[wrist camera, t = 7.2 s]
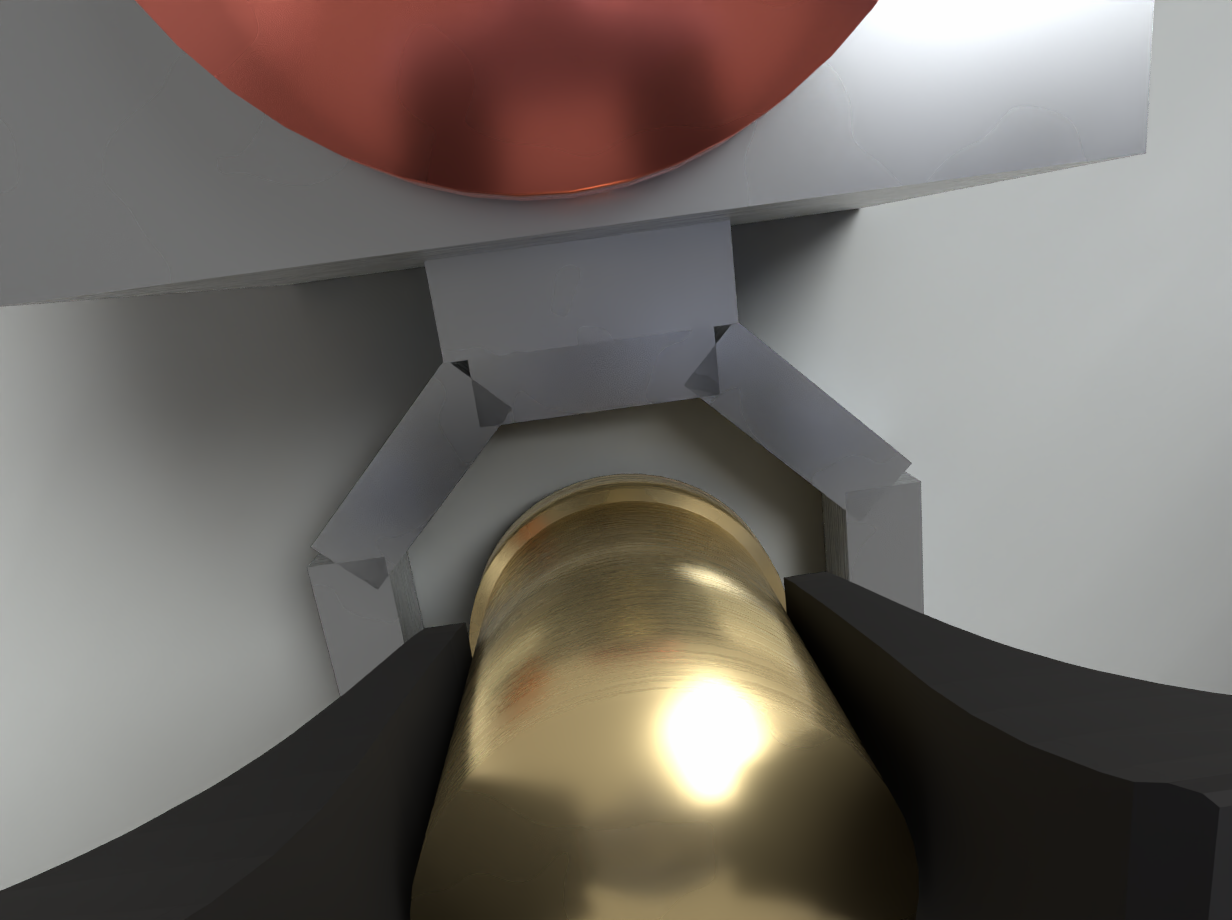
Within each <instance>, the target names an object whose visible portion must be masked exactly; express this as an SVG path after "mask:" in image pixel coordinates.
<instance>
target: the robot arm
mask: <svg viewBox="0 0 1232 920" xmlns="http://www.w3.org/2000/svg"><path fill="white" fill-rule="evenodd" d="M784 587H785V600H786V613H787V615H788V617H789V618H790V620H791V622H792V623H793V625H794V627H795V629H796V630H797V632H798V634H799V636H800V637H801V639H802V641H803V642H804V644H805V646H806V648H807V649H808V651H809V653H810V655H811V656H812V658H813V660H814V661H815V663H816V665H817V667H818V668H819V670H820V672H821V674H822V675H823V677H824V679H825V680H826V682H827V684H828V686H829V687H830V689H831V691H832V693H833V694H834V696H835V698H836V699H837V701H838V703H839V705H840V706H841V708H842V710H843V712H844V713H845V715H846V717H847V718H848V720H849V722H850V724H851V725H852V727H853V729H854V731H855V732H856V734H857V736H858V737H859V739H860V741H861V743H862V744H863V746H864V748H865V750H866V751H867V753H868V755H869V756H870V758H871V760H872V762H873V763H874V765H875V767H876V769H877V770H878V772H879V774H880V775H881V777H882V779H883V781H884V782H885V784H886V786H887V788H888V789H889V791H890V793H891V795H892V796H893V798H894V800H895V802H896V803H897V805H898V807H899V809H900V811H901V812H902V814H903V816H904V818H905V821H906V824H907V826H908V829H909V832H910V835H911V837H912V840H913V843H914V848H915V854H916V859H917V865H918V878H919V898H918V905H917V912H916V920H1232V695H1226V694H1219V693H1212V692H1205V691H1199V690H1193V689H1187V688H1181V687H1176V686H1170V685H1164V684H1158V683H1154V682H1149V681H1144V680H1139V679H1134V678H1130V677H1125V676H1120V675H1115V674H1111V673H1106V672H1101V671H1097V670H1093V669H1089V668H1084V667H1080V666H1076V665H1072V664H1068V663H1065V662H1061V661H1058V660H1054V659H1051V658H1047V657H1044V656H1040V655H1037V654H1033V653H1030V652H1027V651H1023V650H1020V649H1016V648H1013V647H1010V646H1007V645H1004V644H1001V643H998V642H995V641H992V640H989V639H986V638H984V637H981V636H978V635H976V634H973V633H970V632H968V631H965V630H962V629H959V628H957V627H954V626H951V625H949V624H946V623H944V622H941V621H939V620H937V619H934V618H932V617H929V616H927V615H925V614H922V613H920V612H917V611H915V610H913V609H911V608H908V607H906V606H904V605H901V604H899V603H897V602H895V601H893V600H890V599H888V598H886V597H884V596H881V595H879V594H877V593H875V592H873V591H871V590H868V589H866V588H864V587H862V586H860V585H857V584H855V583H853V582H850V581H848V580H846V579H843V578H841V577H839V576H836V575H833V574H830V573H827V572H819V573H812V574H805V575H798V576H791V577H784ZM471 662H472V653H471V648H470V643H469V638H468V633H467V628H466V623H459V624H452V625H445V626H438V627H431V628H425V629H423V630H421V631H420V632H418V633H417V634H415V635H414V636H413V637H411V638H410V639H409V640H408V641H406V642H405V643H404V644H403V645H402V646H400V647H399V648H398V649H397V650H396V651H394V652H393V653H392V654H391V655H390V656H389V657H387V658H386V659H385V660H384V661H383V662H382V663H380V664H379V665H378V666H377V667H376V668H374V669H373V670H372V671H371V672H370V673H369V674H367V675H366V676H365V677H364V678H363V679H361V680H360V681H359V682H358V683H357V684H355V685H354V686H353V687H352V688H351V689H350V690H348V691H347V692H346V693H345V694H343V695H342V696H341V697H340V698H338V699H337V700H336V701H334V702H333V703H332V704H331V705H329V706H328V707H327V708H325V709H324V710H323V711H321V712H320V713H319V714H318V715H316V716H315V717H314V718H312V719H311V720H310V721H309V722H307V723H306V724H305V725H303V726H302V727H301V728H299V729H298V730H297V731H296V732H294V733H293V734H292V735H290V736H289V737H287V738H286V739H285V740H283V741H282V742H280V743H279V744H278V745H276V746H275V747H273V748H272V749H270V750H269V751H267V752H266V753H264V754H263V755H261V756H260V757H258V758H257V759H255V760H254V761H252V762H251V763H249V764H247V765H246V766H244V767H243V768H241V769H240V770H238V771H236V772H235V773H233V774H232V775H230V776H229V777H227V778H225V779H224V780H222V781H221V782H219V783H217V784H216V785H214V786H212V787H211V788H209V789H207V790H205V791H204V792H202V793H200V794H198V795H196V796H194V797H193V798H191V799H189V800H187V801H185V802H183V803H182V804H180V805H178V806H176V807H174V808H172V809H171V810H169V811H167V812H165V813H163V814H162V815H160V816H158V817H156V818H154V819H152V820H151V821H149V822H147V823H145V824H143V825H141V826H140V827H138V828H136V829H134V830H132V831H130V832H128V833H126V834H124V835H122V836H120V837H118V838H116V839H114V840H112V841H110V842H108V843H106V844H104V845H102V846H100V847H97V848H95V849H93V850H91V851H89V852H87V853H85V854H83V855H81V856H79V857H77V858H74V859H72V860H70V861H68V862H65V863H63V864H61V865H59V866H57V867H54V868H52V869H50V870H48V871H45V872H43V873H41V874H39V875H37V876H34V877H32V878H30V879H28V880H25V881H23V882H21V883H18V884H16V885H13V886H11V887H9V888H6V889H4V890H2V891H0V920H410V908H411V896H412V885H413V881H414V877H415V873H416V869H417V865H418V861H419V857H420V854H421V850H422V846H423V842H424V839H425V835H426V831H427V827H428V824H429V820H430V816H431V812H432V808H433V805H434V801H435V797H436V793H437V790H438V786H439V782H440V778H441V775H442V771H443V767H444V763H445V760H446V756H447V752H448V748H449V745H450V741H451V737H452V733H453V730H454V726H455V722H456V718H457V715H458V711H459V707H460V703H461V700H462V696H463V692H464V688H465V685H466V681H467V677H468V673H469V670H470V666H471Z"/></svg>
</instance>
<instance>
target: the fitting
mask: <svg viewBox="0 0 1232 920" xmlns="http://www.w3.org/2000/svg"><path fill="white" fill-rule="evenodd" d="M469 642H470V648H471V653H472V662H471V666H470V670H469V673H468V677H467V681H466V685H465V688H464V692H463V696H462V700H461V703H460V707H459V711H458V715H457V718H456V722H455V726H454V730H453V733H452V737H451V741H450V745H449V748H448V752H447V756H446V760H445V763H444V767H443V771H442V775H441V778H440V782H439V786H438V790H437V793H436V797H435V801H434V805H433V808H432V812H431V816H430V820H429V824H428V827H427V831H426V835H425V839H424V842H423V846H422V850H421V854H420V857H419V861H418V865H417V869H416V873H415V877H414V881H413V885H412V896H411V908H410V920H916V912H917V905H918V898H919V878H918V865H917V859H916V854H915V848H914V843H913V840H912V837H911V835H910V832H909V829H908V826H907V824H906V821H905V818H904V816H903V814H902V812H901V811H900V809H899V807H898V805H897V803H896V802H895V800H894V798H893V796H892V795H891V793H890V791H889V789H888V788H887V786H886V784H885V782H884V781H883V779H882V777H881V775H880V774H879V772H878V770H877V769H876V767H875V765H874V763H873V762H872V760H871V758H870V756H869V755H868V753H867V751H866V750H865V748H864V746H863V744H862V743H861V741H860V739H859V737H858V736H857V734H856V732H855V731H854V729H853V727H852V725H851V724H850V722H849V720H848V718H847V717H846V715H845V713H844V712H843V710H842V708H841V706H840V705H839V703H838V701H837V699H836V698H835V696H834V694H833V693H832V691H831V689H830V687H829V686H828V684H827V682H826V680H825V679H824V677H823V675H822V674H821V672H820V670H819V668H818V667H817V665H816V663H815V661H814V660H813V658H812V656H811V655H810V653H809V651H808V649H807V648H806V646H805V644H804V642H803V641H802V639H801V637H800V636H799V634H798V632H797V630H796V629H795V627H794V625H793V623H792V622H791V620H790V618H789V617H788V615H787V613H786V600H785V591H784V588H783V586H782V583H781V580H780V578H779V575H778V573H777V571H776V569H775V567H774V566H773V564H772V562H771V560H770V558H769V557H768V555H767V553H766V552H765V550H764V549H763V547H762V545H761V544H760V542H759V541H758V539H757V538H756V536H755V535H754V534H753V532H752V531H751V530H750V528H749V527H748V526H747V524H746V523H745V522H744V521H743V520H742V519H741V518H740V517H739V516H738V515H737V514H736V513H735V512H734V511H733V510H731V509H730V508H729V507H727V506H726V505H725V504H723V503H722V502H721V501H719V500H718V499H717V498H715V497H713V496H711V495H710V494H708V493H706V492H704V491H702V490H701V489H699V488H696V487H694V486H691V485H689V484H686V483H684V482H681V481H677V480H673V479H669V478H665V477H661V476H654V475H645V474H616V475H608V476H601V477H596V478H592V479H588V480H585V481H581V482H578V483H575V484H573V485H570V486H568V487H565V488H563V489H560V490H558V491H556V492H555V493H553V494H551V495H549V496H548V497H546V498H544V499H542V500H541V501H539V502H538V503H537V504H535V505H534V506H533V507H531V508H530V509H529V510H527V511H526V512H525V513H524V514H523V515H522V516H521V517H520V518H519V519H518V520H517V521H516V522H514V523H513V524H512V525H511V526H510V528H509V529H508V530H507V532H506V533H505V534H504V535H503V537H502V538H501V539H500V541H499V542H498V544H497V545H496V547H495V549H494V551H493V552H492V554H491V556H490V558H489V560H488V562H487V565H486V567H485V570H484V572H483V575H482V578H481V581H480V584H479V587H478V591H477V594H476V597H475V601H474V606H473V610H472V614H471V621H470V631H469Z"/></svg>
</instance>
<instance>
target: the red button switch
mask: <svg viewBox="0 0 1232 920" xmlns="http://www.w3.org/2000/svg"><path fill="white" fill-rule="evenodd" d="M1153 14H1154V0H0V307H2V306H15V305H28V304H41V303H54V302H68V301H81V300H94V299H107V298H120V297H134V296H147V295H160V294H173V293H186V292H200V291H213V290H226V289H239V288H252V287H265V286H279V285H291V284H298V283H306V282H313V281H320V280H328V279H335V278H343V277H350V276H358V275H365V274H373V273H380V272H388V271H395V270H403V269H410V268H418V267H425V269H426V274H427V279H428V284H429V290H430V295H431V300H432V305H433V311H434V316H435V321H436V326H437V332H438V337H439V342H440V347H441V352H442V358H443V362H442V364H441V365H440V367H439V368H438V369H437V371H436V372H435V374H434V375H433V376H432V378H431V379H430V381H429V382H428V383H427V385H426V386H425V388H424V389H423V390H422V392H421V393H420V395H419V396H418V397H417V399H416V400H415V402H414V403H413V404H412V406H411V407H410V409H409V410H408V411H407V413H406V414H405V416H404V417H403V418H402V420H401V421H400V423H399V424H398V425H397V427H396V428H395V430H394V431H393V432H392V434H391V435H390V437H389V438H388V439H387V441H386V442H385V444H384V445H383V446H382V448H381V449H380V451H379V452H378V453H377V455H376V456H375V458H374V459H373V460H372V462H371V463H370V465H369V466H368V467H367V469H366V470H365V472H364V473H363V474H362V476H361V477H360V479H359V480H358V481H357V483H356V484H355V486H354V487H353V488H352V490H351V491H350V493H349V494H348V495H347V497H346V498H345V500H344V501H343V502H342V504H341V505H340V507H339V508H338V509H337V511H336V512H335V514H334V515H333V516H332V518H331V519H330V521H329V522H328V523H327V525H326V526H325V528H324V529H323V530H322V532H321V533H320V535H319V536H318V537H317V539H316V540H315V542H314V543H313V544H312V546H311V548H313V549H314V550H316V551H318V552H319V555H318V556H317V557H316V558H315V559H314V560H313V561H312V562H311V564H310V565H309V566H308V567H307V570H308V574H309V578H310V581H311V585H312V589H313V593H314V597H315V601H316V605H317V608H318V612H319V616H320V620H321V624H322V628H323V632H324V636H325V639H326V643H327V647H328V651H329V655H330V659H331V663H332V667H333V670H334V674H335V678H336V682H337V686H338V690H339V694H340V697H341V696H342V695H343V694H345V693H346V692H347V691H348V690H350V689H351V688H352V687H353V686H354V685H355V684H357V683H358V682H359V681H360V680H361V679H363V678H364V677H365V676H366V675H367V674H369V673H370V672H371V671H372V670H373V669H374V668H376V667H377V666H378V665H379V664H380V663H382V662H383V661H384V660H385V659H386V658H387V657H389V656H390V655H391V654H392V653H393V652H394V651H396V650H397V649H398V648H399V647H400V646H402V645H403V644H404V643H405V642H406V641H408V640H409V639H410V638H411V637H413V636H414V635H415V634H417V633H418V632H420V631H421V630H423V629H424V627H423V622H422V618H421V613H420V608H419V604H418V599H417V595H416V590H415V586H414V581H413V576H412V572H411V567H410V563H409V558H408V554H407V550H408V549H409V547H410V546H411V544H412V543H413V542H414V540H415V539H416V538H417V536H418V535H419V534H420V532H421V531H422V530H423V528H424V527H425V526H426V524H427V523H428V522H429V520H430V519H431V518H432V516H433V515H434V514H435V512H436V511H437V510H438V508H439V507H440V506H441V504H442V503H443V502H444V500H445V499H446V498H447V496H448V495H449V493H450V492H451V491H452V489H453V488H454V487H455V485H456V484H457V483H458V481H459V480H460V479H461V477H462V476H463V475H464V473H465V472H466V471H467V469H468V468H469V467H470V465H471V464H472V463H473V461H474V460H475V459H476V457H477V456H478V455H479V453H480V452H481V451H482V449H483V448H484V447H485V445H486V444H487V442H488V441H489V440H490V438H491V437H492V436H493V434H494V433H495V432H496V430H497V429H498V428H499V426H500V425H503V424H510V423H517V422H525V421H532V420H539V419H547V418H554V417H561V416H568V415H576V414H583V413H590V412H597V411H605V410H612V409H619V408H627V407H634V406H641V405H648V404H656V403H663V402H670V401H677V400H685V399H692V398H699V397H700V398H701V399H702V400H704V401H705V402H706V403H707V404H709V405H710V406H711V407H713V408H714V409H715V410H716V411H718V412H719V413H720V414H722V415H723V416H724V417H726V418H727V419H728V420H729V421H731V422H732V423H733V424H735V425H736V426H737V427H738V428H740V429H741V430H742V431H744V432H745V433H746V434H747V435H749V436H750V437H751V438H753V439H754V440H755V441H756V442H758V443H759V444H760V445H762V446H763V447H764V448H766V449H767V450H768V451H769V452H771V453H772V454H773V455H775V456H776V457H777V458H778V459H780V460H781V461H782V462H784V463H785V464H786V465H787V466H789V467H790V468H791V469H793V470H794V471H795V472H797V473H798V474H799V475H800V476H802V477H803V478H804V479H806V480H807V481H808V482H809V483H811V484H812V485H813V486H815V487H816V488H817V489H818V490H820V491H821V492H822V504H823V521H824V538H825V555H826V572H827V573H830V574H833V575H836V576H839V577H841V578H843V579H846V580H848V581H850V582H853V583H855V584H857V585H860V586H862V587H864V588H866V589H868V590H871V591H873V592H875V593H877V594H879V595H881V596H884V597H886V598H888V599H890V600H893V601H895V602H897V603H899V604H901V605H904V606H906V607H908V608H911V609H913V610H915V611H917V612H920V613H922V614H924V600H923V555H922V510H921V481H919V480H918V479H916V478H914V477H913V476H911V475H910V474H908V473H907V472H905V470H906V469H907V468H908V467H909V466H910V465H911V464H912V463H911V462H910V461H909V460H908V459H906V458H905V457H904V456H903V455H901V454H900V453H899V452H898V451H897V450H895V449H894V448H893V447H892V446H890V445H889V444H888V443H887V442H885V441H884V440H883V439H882V438H881V437H879V436H878V435H877V434H876V433H874V432H873V431H872V430H871V429H869V428H868V427H867V426H866V425H864V424H863V423H862V422H861V421H860V420H858V419H857V418H856V417H855V416H853V415H852V414H851V413H850V412H848V411H847V410H846V409H845V408H844V407H842V406H841V405H840V404H839V403H837V402H836V401H835V400H834V399H832V398H831V397H830V396H829V395H828V394H826V393H825V392H824V391H823V390H821V389H820V388H819V387H818V386H816V385H815V384H814V383H813V382H811V381H810V380H809V379H808V378H807V377H805V376H804V375H803V374H802V373H800V372H799V371H798V370H797V369H795V368H794V367H793V366H792V365H791V364H789V363H788V362H787V361H786V360H784V359H783V358H782V357H781V356H779V355H778V354H777V353H776V352H775V351H773V350H772V349H771V348H770V347H768V346H767V345H766V344H765V343H763V342H762V341H761V340H760V339H759V338H757V337H756V336H755V335H754V334H752V333H751V332H750V331H749V330H747V329H746V328H745V327H744V326H742V325H741V324H740V323H739V320H738V309H737V297H736V285H735V273H734V261H733V250H732V238H731V225H739V224H746V223H753V222H761V221H768V220H776V219H783V218H791V217H798V216H806V215H813V214H821V213H828V212H836V211H843V210H851V209H858V208H864V207H870V206H875V205H880V204H885V203H890V202H896V201H901V200H906V199H911V198H916V197H922V196H927V195H932V194H937V193H942V192H948V191H953V190H958V189H963V188H968V187H973V186H979V185H984V184H989V183H994V182H999V181H1005V180H1010V179H1015V178H1020V177H1025V176H1031V175H1036V174H1041V173H1046V172H1051V171H1057V170H1062V169H1067V168H1072V167H1077V166H1083V165H1088V164H1093V163H1098V162H1103V161H1108V160H1114V159H1119V158H1124V157H1129V156H1134V155H1140V154H1145V153H1146V142H1147V124H1148V106H1149V87H1150V69H1151V51H1152V33H1153Z"/></svg>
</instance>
